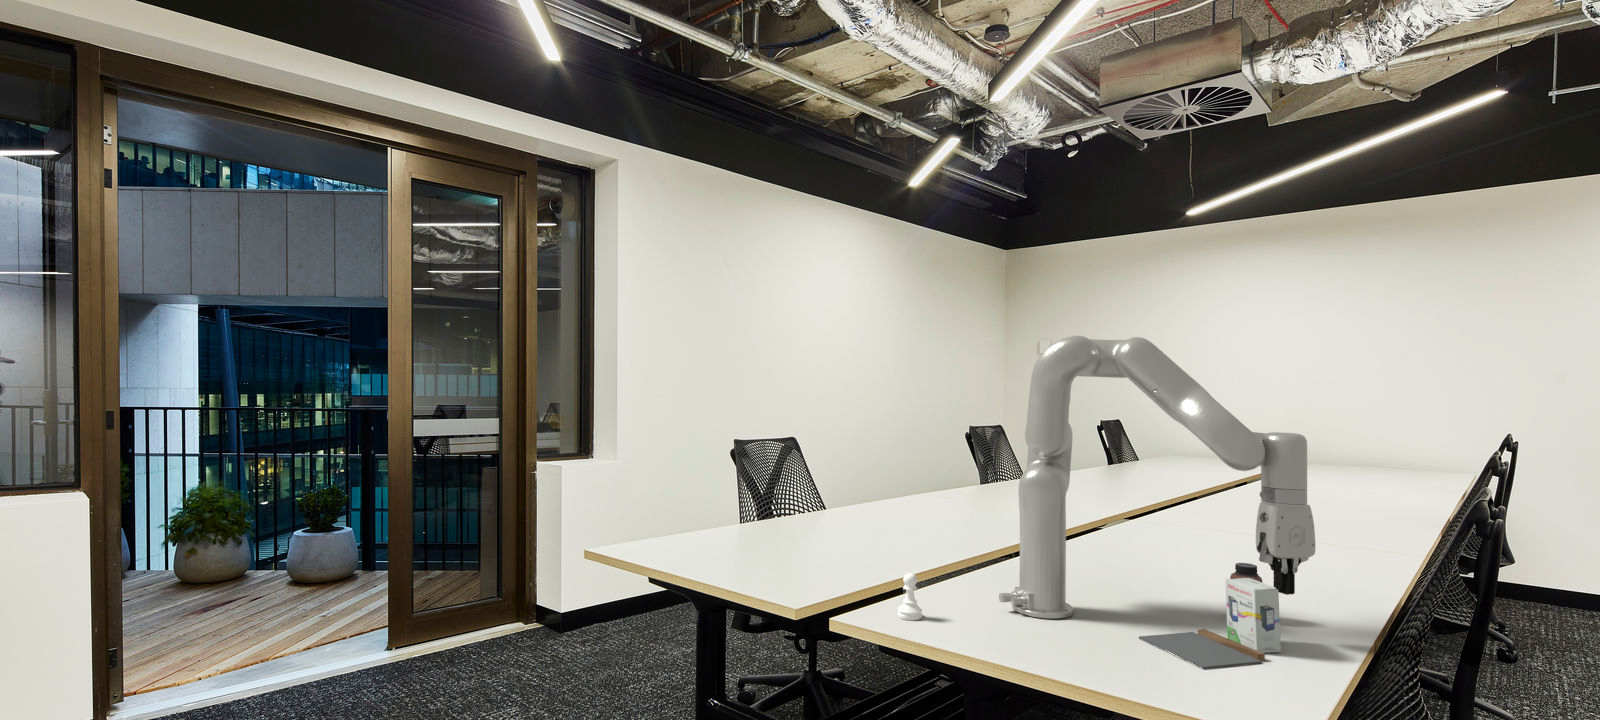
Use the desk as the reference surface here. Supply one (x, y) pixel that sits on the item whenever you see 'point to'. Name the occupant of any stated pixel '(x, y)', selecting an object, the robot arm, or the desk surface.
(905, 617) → the chess pawn
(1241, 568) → the supplement bottle
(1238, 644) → the stop strip
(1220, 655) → the mat
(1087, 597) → the desk surface
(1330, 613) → the desk surface
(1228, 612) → the ink box
